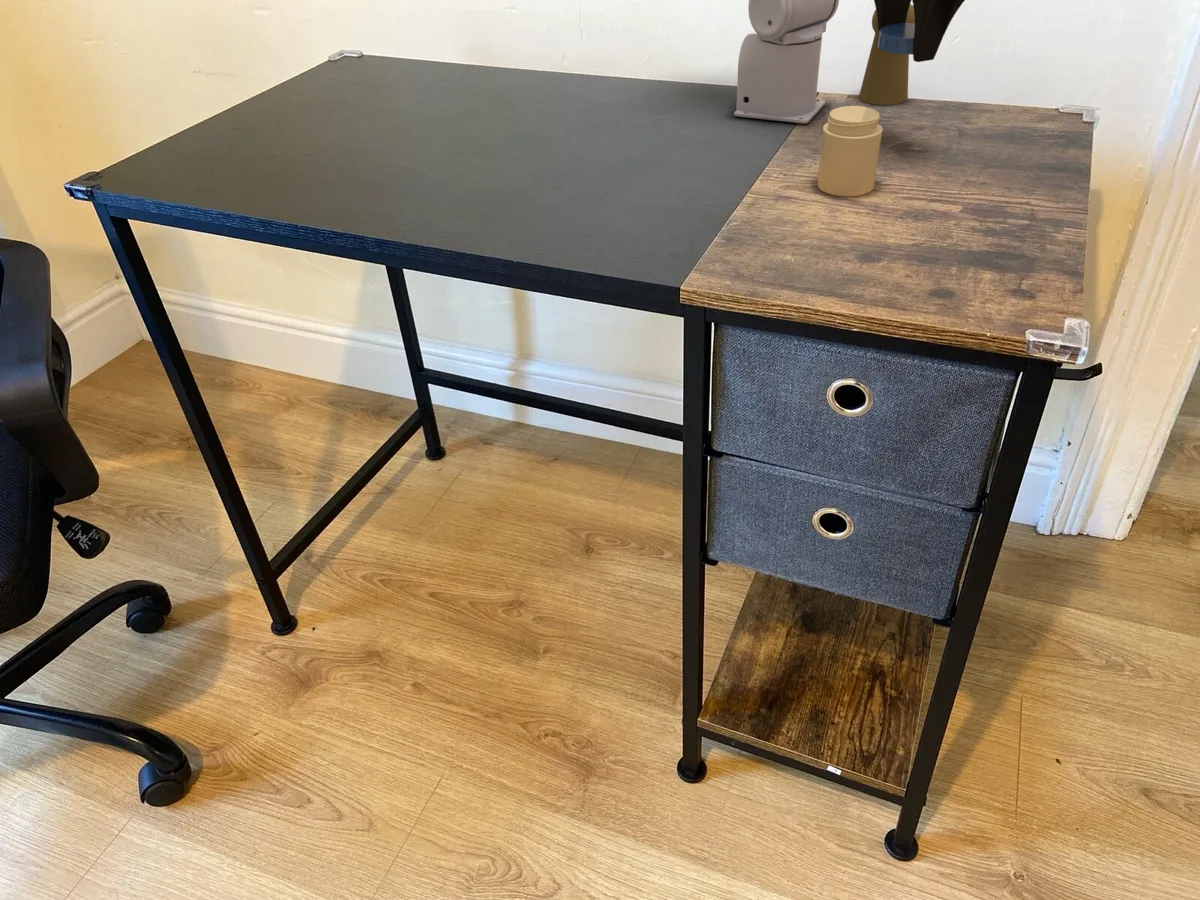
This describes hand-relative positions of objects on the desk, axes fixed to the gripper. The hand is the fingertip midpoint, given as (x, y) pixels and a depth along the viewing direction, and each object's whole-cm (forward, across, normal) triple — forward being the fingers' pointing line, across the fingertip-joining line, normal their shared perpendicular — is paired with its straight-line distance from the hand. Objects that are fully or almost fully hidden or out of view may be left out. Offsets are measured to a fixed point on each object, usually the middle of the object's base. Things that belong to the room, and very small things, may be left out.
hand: (906, 52), depth 94 cm
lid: (-2, 0, 0) cm, 2 cm away
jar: (+10, -9, +11) cm, 17 cm away
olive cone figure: (+10, +14, -7) cm, 19 cm away
